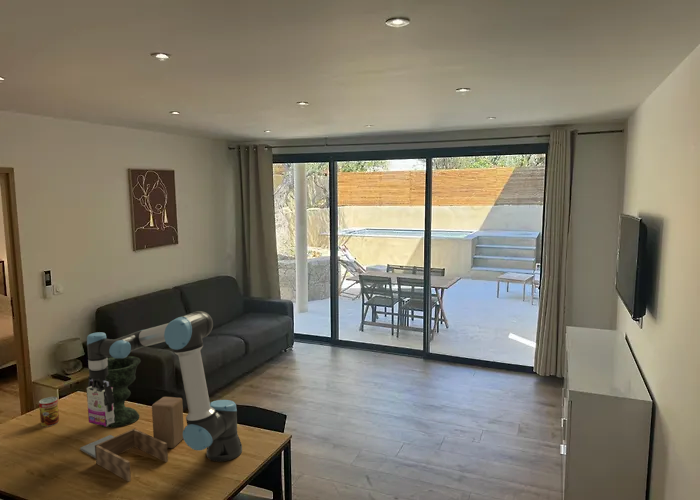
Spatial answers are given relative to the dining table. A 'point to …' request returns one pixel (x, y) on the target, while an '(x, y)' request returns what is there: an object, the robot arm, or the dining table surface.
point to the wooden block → (168, 420)
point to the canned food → (49, 411)
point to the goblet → (122, 388)
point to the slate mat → (91, 447)
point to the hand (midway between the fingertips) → (101, 414)
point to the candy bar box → (98, 407)
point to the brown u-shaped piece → (124, 442)
